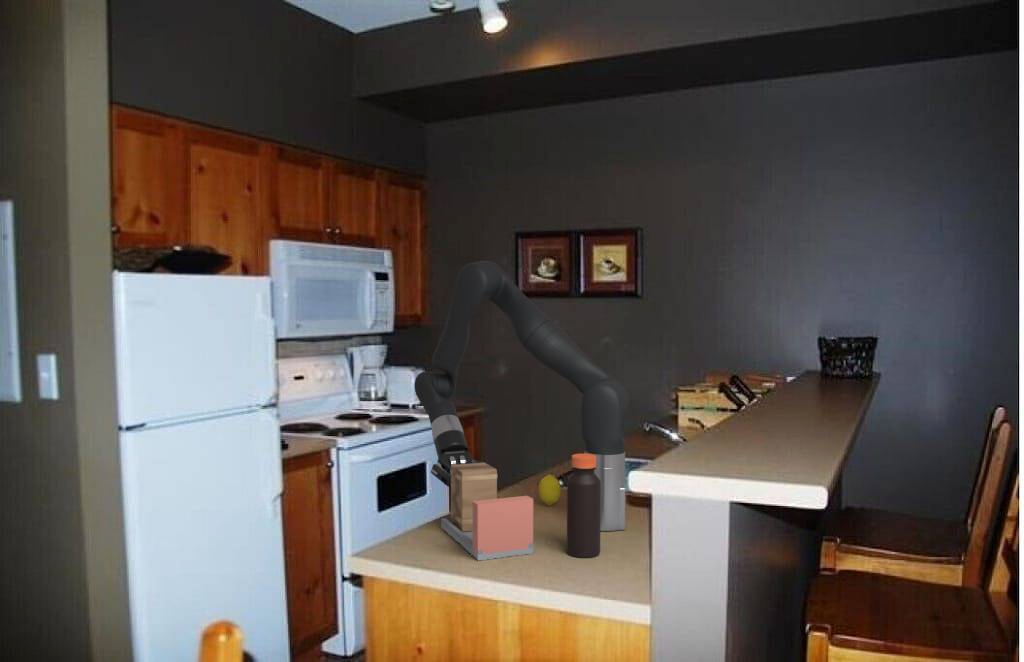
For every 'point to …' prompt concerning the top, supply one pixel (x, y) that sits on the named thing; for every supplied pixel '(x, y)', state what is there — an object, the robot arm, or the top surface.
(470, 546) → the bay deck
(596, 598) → the top surface
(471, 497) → the crate
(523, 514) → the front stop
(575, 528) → the bottle
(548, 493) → the lemon
